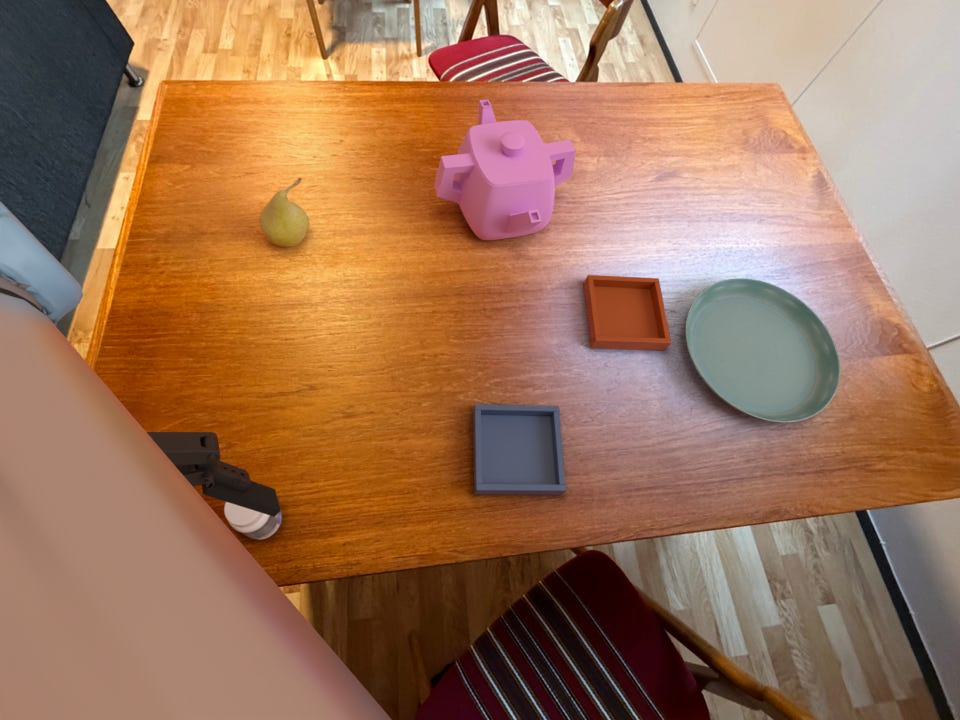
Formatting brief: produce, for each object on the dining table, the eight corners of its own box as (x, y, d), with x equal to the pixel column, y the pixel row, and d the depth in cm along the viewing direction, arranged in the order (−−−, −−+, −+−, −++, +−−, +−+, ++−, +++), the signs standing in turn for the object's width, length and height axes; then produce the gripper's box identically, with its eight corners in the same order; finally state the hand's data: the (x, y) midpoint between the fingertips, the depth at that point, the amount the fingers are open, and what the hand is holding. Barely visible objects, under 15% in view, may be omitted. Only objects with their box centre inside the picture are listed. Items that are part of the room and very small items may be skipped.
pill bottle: (290, 518, 68) (275, 505, 60) (259, 548, 66) (239, 538, 58) (264, 492, 69) (246, 476, 61) (233, 521, 67) (210, 508, 59)
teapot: (474, 152, 98) (484, 77, 84) (567, 194, 96) (593, 123, 82) (423, 226, 89) (424, 156, 76) (524, 273, 88) (544, 209, 74)
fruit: (262, 226, 86) (240, 169, 75) (310, 215, 88) (295, 158, 77) (271, 259, 83) (250, 205, 73) (320, 248, 85) (307, 194, 75)
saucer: (718, 445, 78) (730, 438, 75) (652, 303, 88) (660, 292, 85) (856, 409, 83) (872, 401, 80) (779, 278, 93) (791, 267, 90)
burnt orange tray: (664, 350, 84) (671, 343, 82) (590, 348, 83) (595, 340, 80) (652, 287, 89) (658, 278, 87) (583, 283, 88) (587, 274, 85)
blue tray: (561, 494, 73) (566, 490, 70) (474, 494, 71) (476, 490, 69) (554, 412, 78) (558, 405, 75) (473, 410, 76) (474, 404, 74)
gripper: (42, 306, 35) (307, 428, 49) (-173, 579, 38) (139, 622, 52) (21, 364, 30) (327, 484, 44) (-229, 681, 32) (138, 698, 46)
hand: (226, 559), depth 48 cm, fingers open, 13 cm apart
